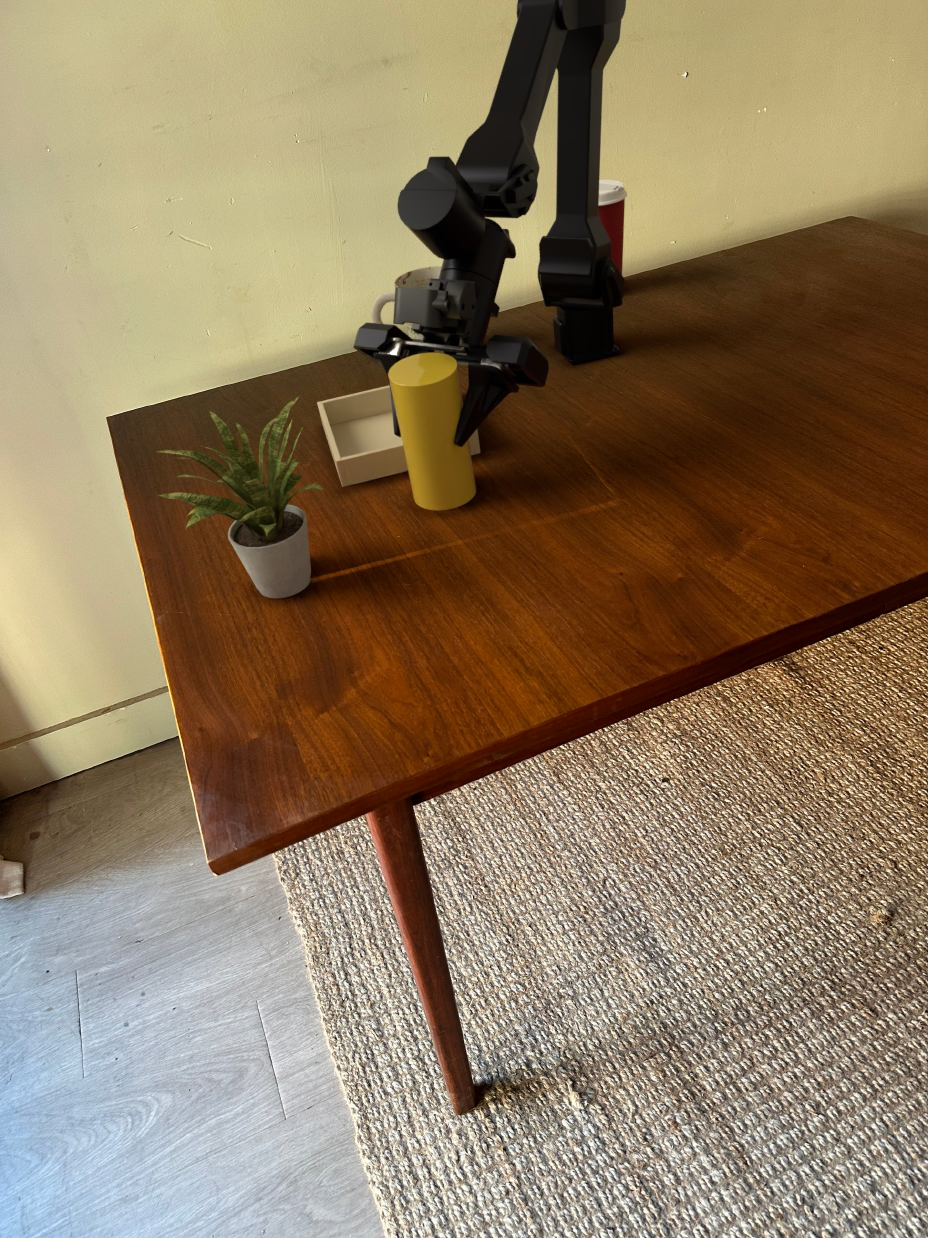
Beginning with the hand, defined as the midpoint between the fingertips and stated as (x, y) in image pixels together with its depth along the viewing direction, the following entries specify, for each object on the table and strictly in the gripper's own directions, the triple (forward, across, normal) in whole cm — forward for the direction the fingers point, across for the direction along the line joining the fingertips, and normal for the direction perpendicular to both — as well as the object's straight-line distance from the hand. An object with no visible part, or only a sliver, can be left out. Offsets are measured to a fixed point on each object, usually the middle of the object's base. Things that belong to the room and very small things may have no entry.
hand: (427, 440), depth 88 cm
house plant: (+16, -8, -5) cm, 18 cm away
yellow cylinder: (+4, 0, +6) cm, 7 cm away
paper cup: (-35, -6, +45) cm, 57 cm away
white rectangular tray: (-2, -11, +12) cm, 17 cm away
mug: (-17, -21, +28) cm, 39 cm away
